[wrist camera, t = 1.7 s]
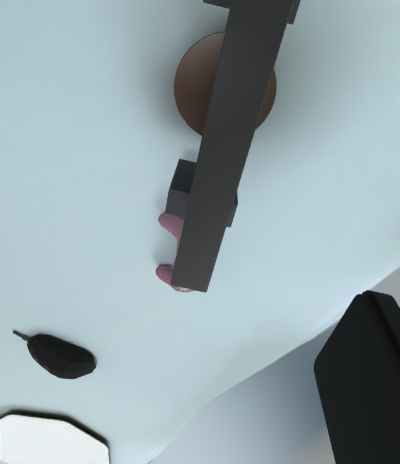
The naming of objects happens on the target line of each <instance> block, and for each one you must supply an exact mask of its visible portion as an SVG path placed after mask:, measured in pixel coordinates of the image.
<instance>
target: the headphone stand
mask: <svg viewBox="0 0 400 464" xmlns="http://www.w3.org/2000/svg"><path fill="white" fill-rule="evenodd" d="M224 34H225V32H219V33H214V34H211V35H208V36H206V37H204V38H202V39H201V40H199V41H198V42H196V43H195V44H194V45H193V46H192V47H191V48H190V49H189V50H188V51H187V52H186V54H185V55H184V57H183V58H182V60H181V62H180V64H179V66H178V69H177V72H176V76H175V82H174V94H175V100H176V104H177V107H178V110H179V112H180V114H181V116H182V117H183V119H184V120H185V122H186V123H187V124H188V125H189V126H190V127H191V128H192V129H193V130H194V131H196V132H197V133H199V134H200V135H202V136H203V131H204V126H205V122H206V117H207V113H208V108H209V103H210V99H211V94H212V90H213V85H214V80H215V76H216V71H217V66H218V62H219V57H220V53H221V48H222V43H223V39H224ZM275 96H276V75H275V71H274V68H273V71H272V75H271V78H270V82H269V85H268V88H267V92H266V95H265V98H264V102H263V105H262V108H261V112H260V115H259V118H258V122H257V125H256V128H255V129H257V128H258V127H259V126H260V125H261V124H262V123H263V122H264V120H265V119H266V117H267V116H268V114H269V112H270V111H271V109H272V106H273V103H274V100H275Z"/></svg>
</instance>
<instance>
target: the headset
mask: <svg viewBox="0 0 400 464" xmlns="http://www.w3.org/2000/svg"><path fill="white" fill-rule="evenodd" d="M203 2H204V3H208V4H212V5H216V6H220V7H224V8H228V9H230V11H229V16H228V20H227V25H226V30H225V34H224V39H223V43H222V48H221V53H220V57H219V62H218V66H217V71H216V76H215V80H214V85H213V90H212V94H211V99H210V103H209V108H208V113H207V117H206V122H205V126H204V131H203V136H202V140H201V145H200V150H199V154H198V159H197V163H196V162H191V161H187V160H183V159H179V161H178V164H177V167H176V170H175V173H174V176H173V179H172V182H171V185H170V188H169V193H168V199H167V204H166V210H165V213H166V214H171V215H175V216H180V217H185V219H184V223H183V228H182V233H181V237H180V242H179V246H178V251H177V256H176V260H175V265H174V269H173V274H172V279H171V283H170V285H172V286H177V287H182V288H187V289H191V290H196V291H201V292H207V289H208V286H209V282H210V279H211V276H212V272H213V269H214V266H215V262H216V259H217V256H218V252H219V249H220V246H221V242H222V239H223V235H224V232H225V229H226V227H231V224H232V221H233V218H234V215H235V211H236V208H237V205H238V199H237V189H238V185H239V182H240V179H241V175H242V172H243V169H244V165H245V162H246V159H247V155H248V152H249V148H250V145H251V142H252V138H253V135H254V132H255V128H256V125H257V122H258V118H259V115H260V112H261V108H262V105H263V102H264V98H265V95H266V92H267V88H268V85H269V82H270V78H271V75H272V71H273V68H274V65H275V61H276V58H277V55H278V51H279V48H280V45H281V41H282V38H283V35H284V31H285V28H286V25H287V23H288V24H293V23H294V20H295V16H296V13H297V10H298V7H299V3H300V0H203Z"/></svg>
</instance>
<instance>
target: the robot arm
mask: <svg viewBox="0 0 400 464" xmlns="http://www.w3.org/2000/svg"><path fill="white" fill-rule="evenodd" d="M314 373H315V378H316V382H317V387H318V391H319V395H320V399H321V404H322V408H323V412H324V416H325V420H326V425H327V429H328V433H329V437H330V442H331V446H332V450H333V454H334V458H335V462H336V464H400V308H399V306H398V305H397V303H396V301H395V299H394V298H393V297H392V296H391V295H388V294H384V293H379V292H374V291H370V290H367V291H365V292H363V293H362V294H358V295H356V296H355V298H354V299H353V301H352V302H351V304H350V305H349V307H348V309H347V310H346V312H345V313H344V315H343V316H342V318H341V320H340V321H339V323H338V324H337V326H336V328H335V329H334V331H333V332H332V334H331V336H330V337H329V339H328V340H327V342H326V343H325V345H324V347H323V348H322V350H321V352H320V353H319V355H318V356H317V358H316V360H315V363H314Z"/></svg>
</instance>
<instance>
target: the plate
mask: <svg viewBox="0 0 400 464" xmlns="http://www.w3.org/2000/svg"><path fill="white" fill-rule="evenodd" d="M0 461H2V462H4V463H6V464H109V452H108V447H107V445H106V444H105V443H103V442H102V441H100V440H98V439H97V438H95V437H93V436H92V435H90V434H88V433H87V432H85V431H84V430H82V429H80V428H79V427H77V426H75V425H74V424H72V423H70V422H68V421H65V420H60V419H53V418H45V417H37V416H30V415H22V414H8V415H7V416H5V417H3V418H1V419H0Z"/></svg>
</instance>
